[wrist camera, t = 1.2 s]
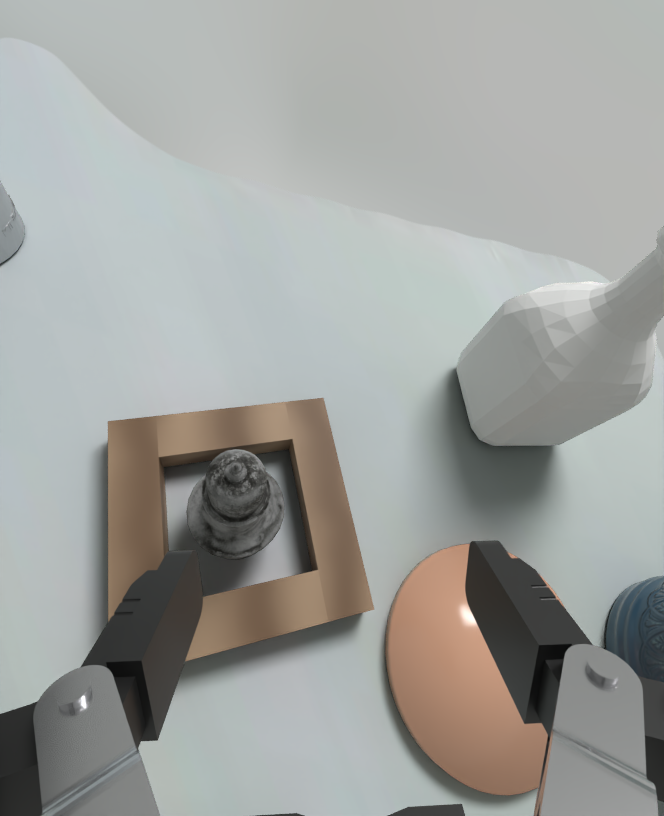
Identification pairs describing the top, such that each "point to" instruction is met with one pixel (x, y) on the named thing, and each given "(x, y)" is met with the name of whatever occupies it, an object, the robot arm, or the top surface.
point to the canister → (639, 628)
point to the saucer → (457, 683)
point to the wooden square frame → (203, 441)
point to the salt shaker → (235, 506)
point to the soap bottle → (564, 357)
